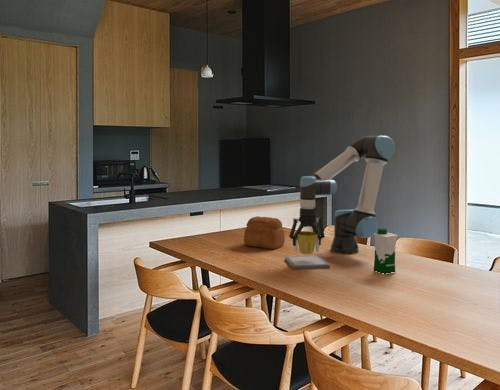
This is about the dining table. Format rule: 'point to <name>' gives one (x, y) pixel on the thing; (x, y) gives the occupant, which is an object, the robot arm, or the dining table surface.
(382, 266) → the milk carton
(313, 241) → the plant pot
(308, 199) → the robot arm
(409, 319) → the dining table surface
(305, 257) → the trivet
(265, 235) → the bread
